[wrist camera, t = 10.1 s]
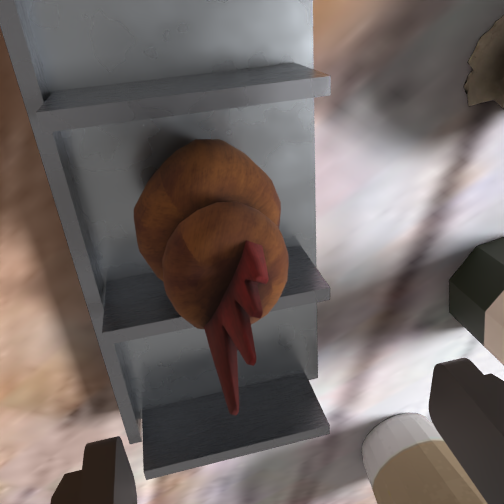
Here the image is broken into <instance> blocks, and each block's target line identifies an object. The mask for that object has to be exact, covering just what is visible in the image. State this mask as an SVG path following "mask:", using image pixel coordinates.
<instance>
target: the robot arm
mask: <svg viewBox="0 0 504 504" xmlns="http://www.w3.org/2000/svg"><path fill="white" fill-rule="evenodd" d="M429 413H430V417H431V420H432V422H433V425H434V426H435V428H436V430H437V431H438V433H439V434H440V436H441V437H442V439H443V440H444V441H445V443H446V444H447V446H448V447H449V449H450V450H451V452H452V453H453V454H454V456H455V457H456V459H457V460H458V462H459V463H460V465H461V466H462V467H463V469H464V470H465V472H466V473H467V475H468V476H469V478H470V479H471V480H472V482H473V483H474V485H475V486H476V488H477V489H478V491H479V492H480V493H481V495H482V496H483V498H484V499H485V501H486V502H487V503H488V504H504V381H503V380H501V379H500V378H498V377H496V376H494V375H493V374H487V375H483V374H482V372H481V371H480V370H479V369H478V368H477V367H476V366H475V365H474V364H473V363H472V362H471V361H470V360H469V359H467V358H461V359H456V360H452V361H448V362H443V363H439V364H436V365H435V367H434V371H433V378H432V385H431V392H430V399H429ZM51 504H137V494H136V486H135V480H134V476H133V473H132V470H131V467H130V464H129V461H128V458H127V455H126V452H125V449H124V446H123V443H122V440H121V438H120V437H119V436H118V437H113V438H109V439H105V440H100V441H96V442H92V443H88V444H86V446H85V450H84V458H83V466H82V470H79V471H75V472H71V473H67V474H64V476H63V478H62V480H61V482H60V483H59V485H58V487H57V489H56V491H55V492H54V494H53V496H52V498H51Z"/></svg>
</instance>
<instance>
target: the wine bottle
mask: <svg viewBox="0 0 504 504" xmlns="http://www.w3.org/2000/svg"><path fill="white" fill-rule="evenodd" d="M449 310H450V314H451V315H453V316H454V317H455V318H456V319H457V320H458V321H459V322H460V323H461V324H462V325H463V326H464V327H465V328H466V329H467V330H468V331H469V332H470V333H471V334H472V335H473V336H474V337H475V338H476V339H477V340H478V341H479V342H480V343H481V344H482V345H483V346H484V347H485V348H486V349H487V350H488V351H489V352H490V353H491V354H492V355H494V356H495V357H496V358H497V359H498V360H499V361H500V362H501V363H502V364H503V365H504V237H503V238H500V239H497V240H494V241H491V242H488V243H485V244H482V245H479V246H477V247H476V248H475V249H474V250H473V252H472V253H471V254H470V255H469V256H468V258H467V259H466V260H465V261H464V263H463V264H462V265H461V266H460V268H459V269H458V270H457V271H456V272H455V274H454V275H453V276H452V277H451V279H450V280H449Z"/></svg>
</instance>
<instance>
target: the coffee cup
mask: <svg viewBox="0 0 504 504" xmlns="http://www.w3.org/2000/svg"><path fill="white" fill-rule="evenodd" d="M361 453H362V456H363V464H364V467H365V470H366V472H367V475H368V478H369V481H370V484H371V487H372V489H373V492H374V495H375V498H376V501H377V504H488V503H487V502H486V501H485V499H484V498H483V496H482V495H481V493H480V492H479V491H478V489H477V488H476V486H475V485H474V483H473V482H472V480H471V479H470V478H469V476H468V475H467V473H466V472H465V470H464V469H463V467H462V466H461V465H460V463H459V462H458V460H457V459H456V457H455V456H454V454H453V453H452V452H451V450H450V449H449V447H448V446H447V444H446V443H445V441H444V440H443V439H442V437H441V436H440V434H439V433H438V431H437V430H436V428H435V426H434V425H433V422H430V421H429V420H428V419H427V418H426V417H425V416H423V415H420V414H418V413H404V414H399V415H395V416H393V417H391V418H389V419H386V420H384V421H383V422H381V423H380V424H379V425H377V426H376V427H374V429H373V430H372V431H371V432H370V433H369V434H368V435H367V437H366V438H365V440H364V442H363V444H362V451H361Z"/></svg>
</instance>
